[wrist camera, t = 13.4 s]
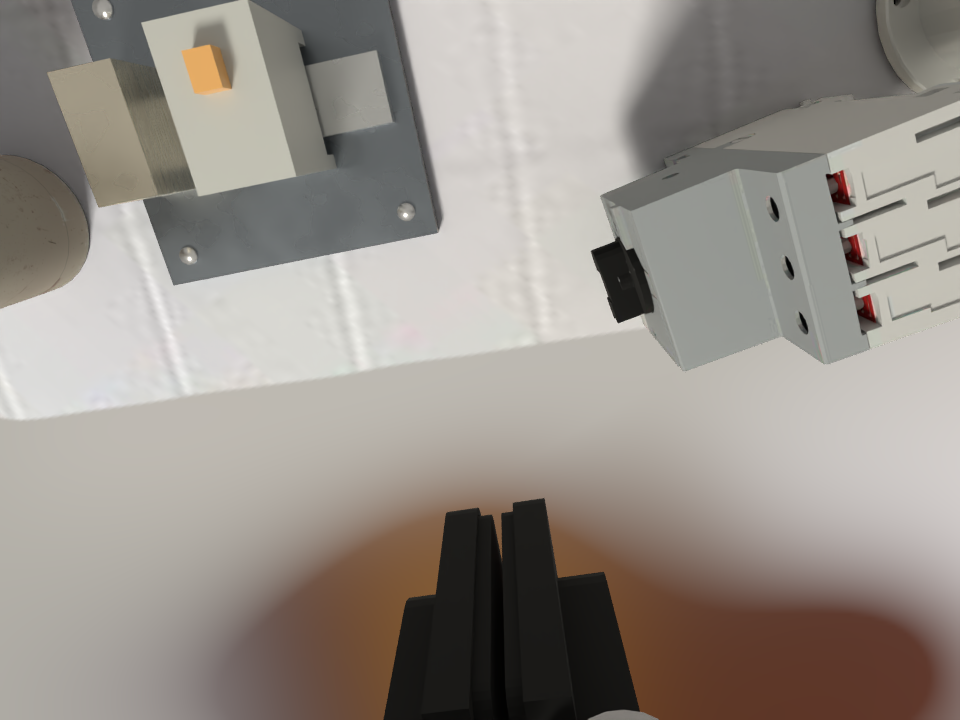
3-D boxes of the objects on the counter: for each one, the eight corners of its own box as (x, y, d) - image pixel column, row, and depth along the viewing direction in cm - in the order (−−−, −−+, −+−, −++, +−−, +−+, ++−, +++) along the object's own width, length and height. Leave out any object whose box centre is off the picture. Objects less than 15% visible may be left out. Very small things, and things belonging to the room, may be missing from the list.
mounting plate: (370, -84, 32) (342, -140, 26) (438, 230, 37) (428, 250, 31) (74, -14, 33) (-25, -50, 27) (179, 282, 38) (118, 311, 32)
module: (301, 30, 33) (237, -7, 25) (336, 168, 35) (289, 177, 27) (219, 48, 33) (128, 18, 25) (259, 184, 36) (188, 198, 27)
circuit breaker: (561, 201, 37) (607, 241, 23) (807, 99, 35) (1026, 73, 21) (602, 317, 39) (669, 420, 25) (836, 228, 37) (1052, 284, 23)
